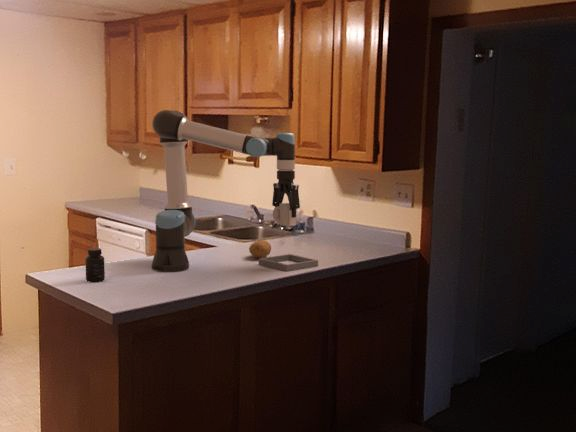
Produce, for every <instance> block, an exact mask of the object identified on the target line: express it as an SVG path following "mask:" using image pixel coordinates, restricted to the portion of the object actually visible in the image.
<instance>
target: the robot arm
mask: <svg viewBox="0 0 576 432" xmlns="http://www.w3.org/2000/svg"><path fill="white" fill-rule="evenodd" d="M152 129H153V131H154V133H155V134H156V135H157V136H158V137H159V143H160V145H161V146H163V152H164V153H163V154H164V165H165V180H166V181H165V182H166V195H167V196H166V198H167V199H166V200H167V204H166V205H165V206H164V210H161V211H159V212H158V213H157V214H156V215H155V220H154V224H155V252H154V254H153V258H152V262H151V269H152V270H153V271H156V270H157V272H166V273H167V272H169V273H170V272H182V271H186V270H189V268H190V261H189V258H188V255H187V253H186V249H185V248H186V246H185V243H186V241H185V240H186V238H185V237H188V236H189V235H190V234H191V233H192V232H193V231H194V230H195V229H194V228H195V226H196V218H195V215H194V214H193V205H192V204H190V203H189V199H188V182H187V167H186V149H185V146H186V145H187V144H188V141H192V142H196V143H200V144H204V145H208V146H211V147H216V148H220V149H225V150H228V151H232V152H234V153H235V152H236V153H240V154H244V155H247V156H251V157H252V158H260V157H264V156H265V157H266V156H267V157H268V156H269V157H270V156H271V157H272V156H274V157H275V156H276V170H277V171H276V179H277V180H278V181H277V182H274V183H273V184H272V186H273V191H272V192H273V194H272V202H271V203H272V204H271V205H272V207H274V208H275V207H277V206H279V204H281V203H283V200H284V197H285V195H286V196H287V200H288V203H289V204H290V208H291V209H290V210H289V225H290V226H289V227H293V226H292V225H295V217H296V218H297V211H296V209H297V210H298V209H300V207H301V205H300V203H301V202H300V196H299V187H300V185H299V184H295V183H294V180H295V179H296V177H295V176H296V174H295V173H296V172H295V167H296V166H295V165H296V163H295V162H296V157H295V154H296V143H295V140H296V139H295V134H294V133H293V132H278V133H276V136H275V137H256V136H254V135H248V134H244V133H241V132H236V131H233V130H228V129H224V128H220V127H215V126H211V125H208V124H204V123H200V122H195V121H192V120H189V119H188V117H187V116H186V115H185V114H183V113H182V112H180V111H178V110H170V109H169V110H168V109H165V110H164V109H163V110H161V111H158V112H157V113H156V114H155V115H154V117H153V119H152ZM296 205H297V206H296ZM293 206H294V207H293ZM277 218H279V210H278V211H277ZM275 222H276V221H275ZM276 224H279V222H276ZM295 226H296V225H295Z"/></svg>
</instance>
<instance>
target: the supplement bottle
mask: <svg viewBox="0 0 576 432" xmlns="http://www.w3.org/2000/svg"><path fill="white" fill-rule="evenodd" d="M102 253H103V252H102V248H99V247H93V248H88V249H87V256H86V257H85V280H87V281H86V282H88V281H90V282H89V283H100V282H99V281H101V282H103V280H104V281H105V280H106V276H105V275H106V273H105V257H104V256H103V254H102Z"/></svg>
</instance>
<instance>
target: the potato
mask: <svg viewBox="0 0 576 432" xmlns="http://www.w3.org/2000/svg"><path fill="white" fill-rule="evenodd" d="M248 249H249V251H248V252H249V253H250V255H252V256H253V257H255V258H257V259H260V258H266V257H267V256H269V255H271V254H270V253H271V251H272V245H271V243H269V242H268V241H267V240H265V239H260V240H259V239H258V240H257V241H255V242H253V243H251V244H250V246H249V248H248Z"/></svg>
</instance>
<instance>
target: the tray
mask: <svg viewBox="0 0 576 432" xmlns="http://www.w3.org/2000/svg"><path fill="white" fill-rule="evenodd" d="M286 261H290V262H291V261H292V262H293V263H289V264H286V263H283V262H286ZM294 262H295V263H294ZM258 265H259V266H264V267H267V268H268V267H269V268H271V269H276V270H281V271H284V272H291V271H296V270H301V269H302V270H303V269H308V268H314V267H318V266H319V259H315V258H310V257H305V256H301V255H296V254H292V253H288V254H287V253H286V254H281V255H280V254H279V255H274V256H268V257H267V256H266V257H265V258H258Z"/></svg>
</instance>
